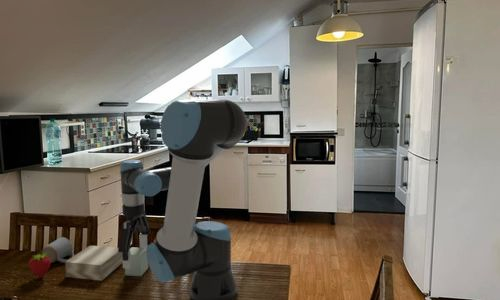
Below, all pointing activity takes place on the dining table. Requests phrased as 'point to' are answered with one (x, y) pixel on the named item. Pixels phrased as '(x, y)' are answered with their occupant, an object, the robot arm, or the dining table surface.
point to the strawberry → (40, 264)
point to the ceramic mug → (58, 250)
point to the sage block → (137, 262)
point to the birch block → (93, 263)
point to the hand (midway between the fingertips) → (135, 258)
